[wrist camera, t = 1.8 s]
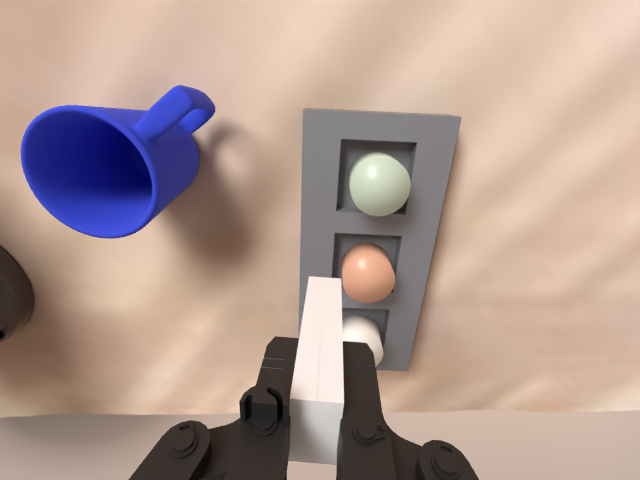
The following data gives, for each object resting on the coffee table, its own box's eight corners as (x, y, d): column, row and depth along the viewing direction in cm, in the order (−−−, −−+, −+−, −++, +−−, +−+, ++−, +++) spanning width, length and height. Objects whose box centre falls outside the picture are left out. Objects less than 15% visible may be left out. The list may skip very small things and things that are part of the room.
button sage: (346, 203, 27) (348, 215, 24) (350, 149, 25) (353, 156, 22) (397, 205, 27) (405, 217, 24) (405, 152, 25) (415, 159, 22)
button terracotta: (339, 283, 30) (340, 301, 28) (343, 241, 28) (344, 256, 26) (385, 285, 30) (391, 304, 28) (391, 243, 28) (398, 259, 26)
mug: (262, 136, 28) (231, 155, 19) (168, 212, 31) (101, 261, 22) (195, 48, 25) (120, 21, 16) (99, 141, 28) (-9, 163, 19)
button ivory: (334, 347, 34) (335, 370, 31) (337, 314, 32) (338, 334, 29) (376, 349, 34) (380, 372, 31) (381, 316, 32) (386, 336, 29)
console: (300, 346, 37) (298, 365, 35) (305, 108, 27) (303, 109, 24) (401, 350, 37) (407, 371, 35) (447, 114, 27) (461, 117, 24)
